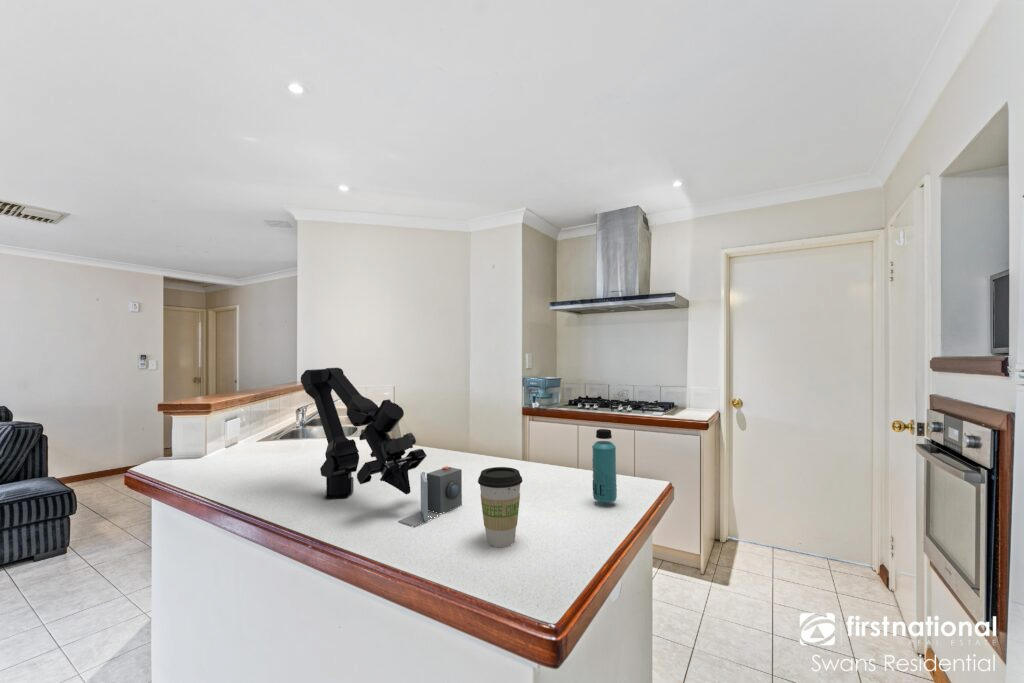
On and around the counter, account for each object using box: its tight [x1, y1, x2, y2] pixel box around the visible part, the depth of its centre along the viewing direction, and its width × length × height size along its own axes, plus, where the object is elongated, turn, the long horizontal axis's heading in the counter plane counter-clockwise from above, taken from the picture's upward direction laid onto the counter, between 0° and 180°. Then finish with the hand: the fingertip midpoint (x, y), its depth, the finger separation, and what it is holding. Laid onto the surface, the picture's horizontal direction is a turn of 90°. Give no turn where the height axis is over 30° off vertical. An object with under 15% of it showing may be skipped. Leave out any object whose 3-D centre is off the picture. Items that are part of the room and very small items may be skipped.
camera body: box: [398, 465, 463, 528], centre depth 114 cm, size 6×17×10 cm, turn 144°
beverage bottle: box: [591, 428, 618, 503], centre depth 120 cm, size 6×7×20 cm
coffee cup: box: [477, 466, 523, 548], centre depth 98 cm, size 10×10×15 cm
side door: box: [420, 471, 429, 522], centre depth 113 cm, size 1×9×9 cm, turn 18°
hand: (408, 493), depth 112 cm, fingers closed
